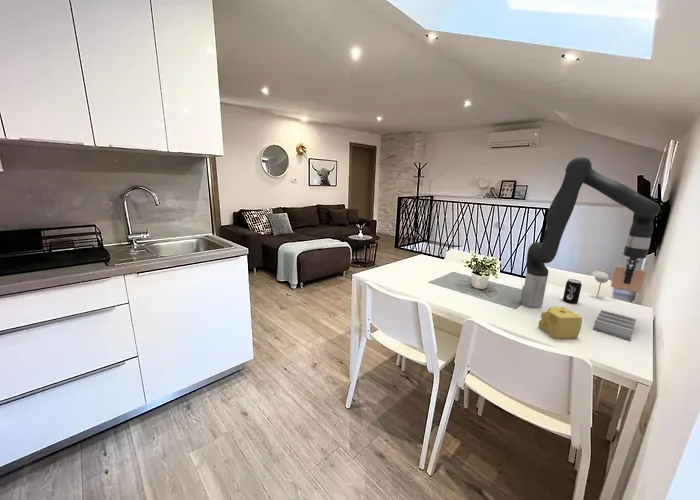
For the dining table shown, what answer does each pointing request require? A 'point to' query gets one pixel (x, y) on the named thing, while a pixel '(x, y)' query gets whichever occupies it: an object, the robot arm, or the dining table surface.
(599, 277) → the lollipop
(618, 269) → the peach wooden block
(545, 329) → the cheese
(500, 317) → the dining table surface
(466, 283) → the dining table surface
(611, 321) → the dish rack
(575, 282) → the beverage can
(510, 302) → the dining table surface
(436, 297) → the dining table surface
